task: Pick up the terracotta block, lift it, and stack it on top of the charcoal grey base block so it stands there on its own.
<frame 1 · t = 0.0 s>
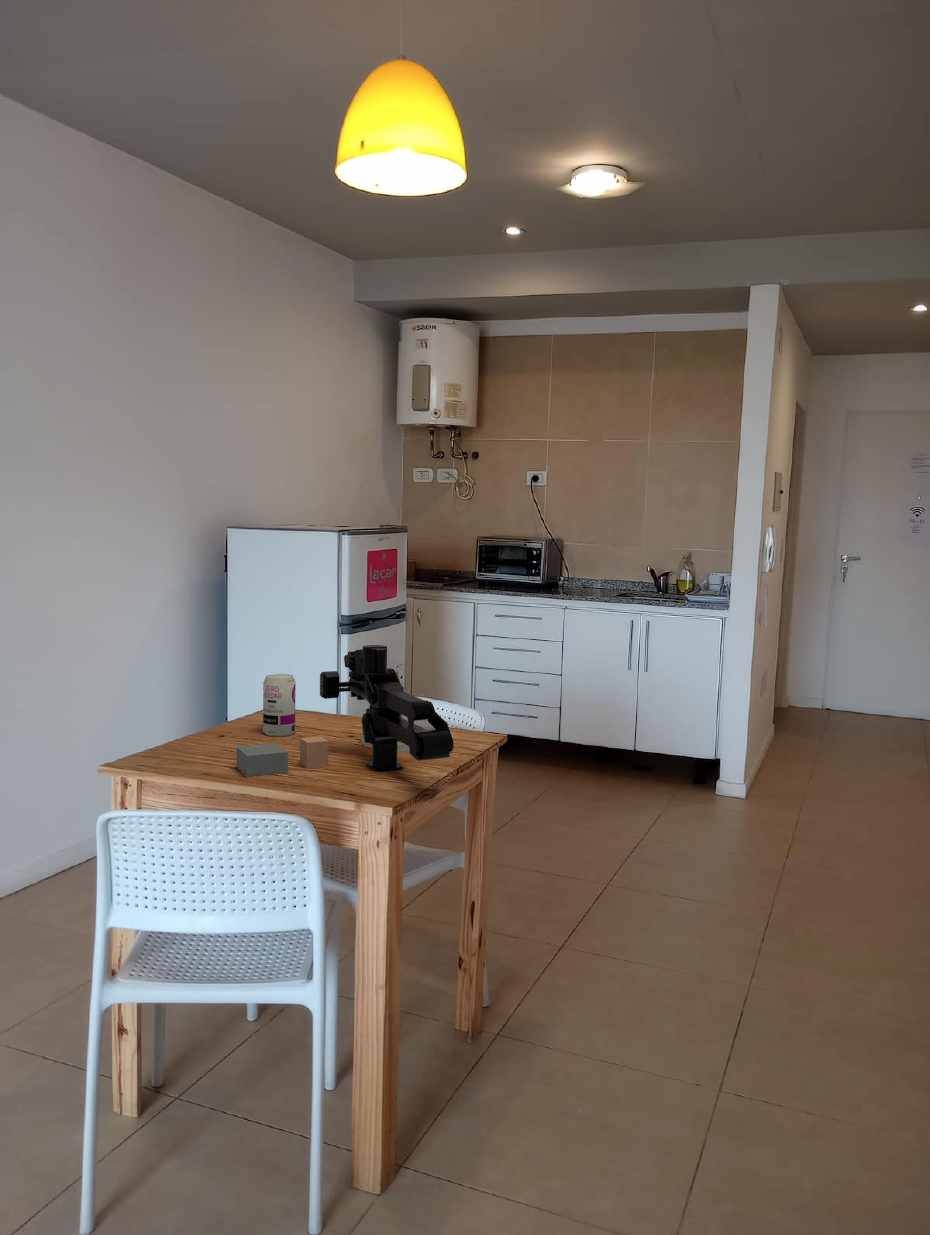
hand: (346, 677, 243), 17 cm above the table, tool horizontal, fingers open, 9 cm apart
terracotta block: (313, 765, 223), on the table
grey base block: (261, 771, 217), on the table
supplement can: (279, 734, 254), on the table
dish: (404, 743, 248), on the table
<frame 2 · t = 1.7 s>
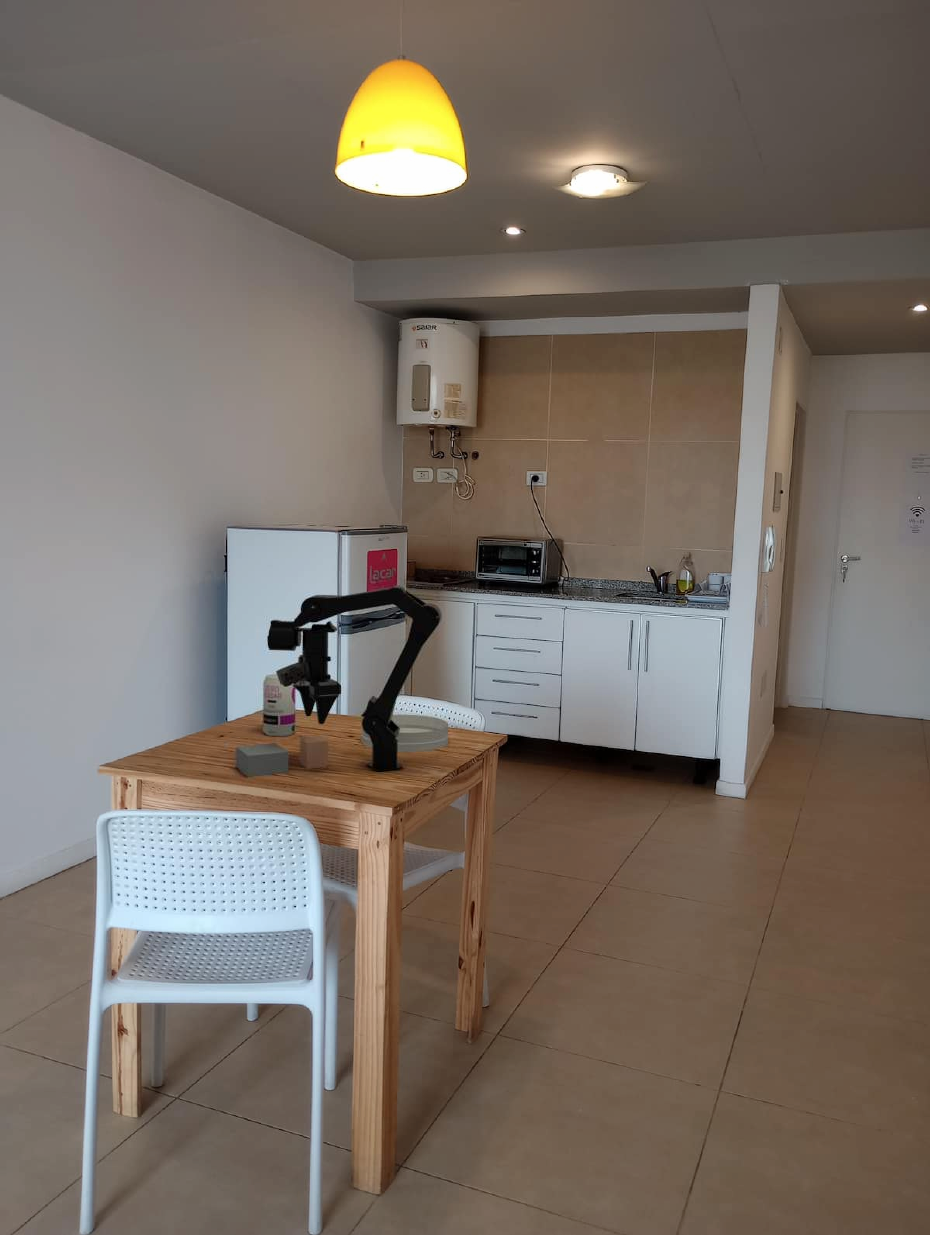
hand: (314, 720, 222), 10 cm above the table, tool pointing down, fingers open, 9 cm apart
nothing on the table moved.
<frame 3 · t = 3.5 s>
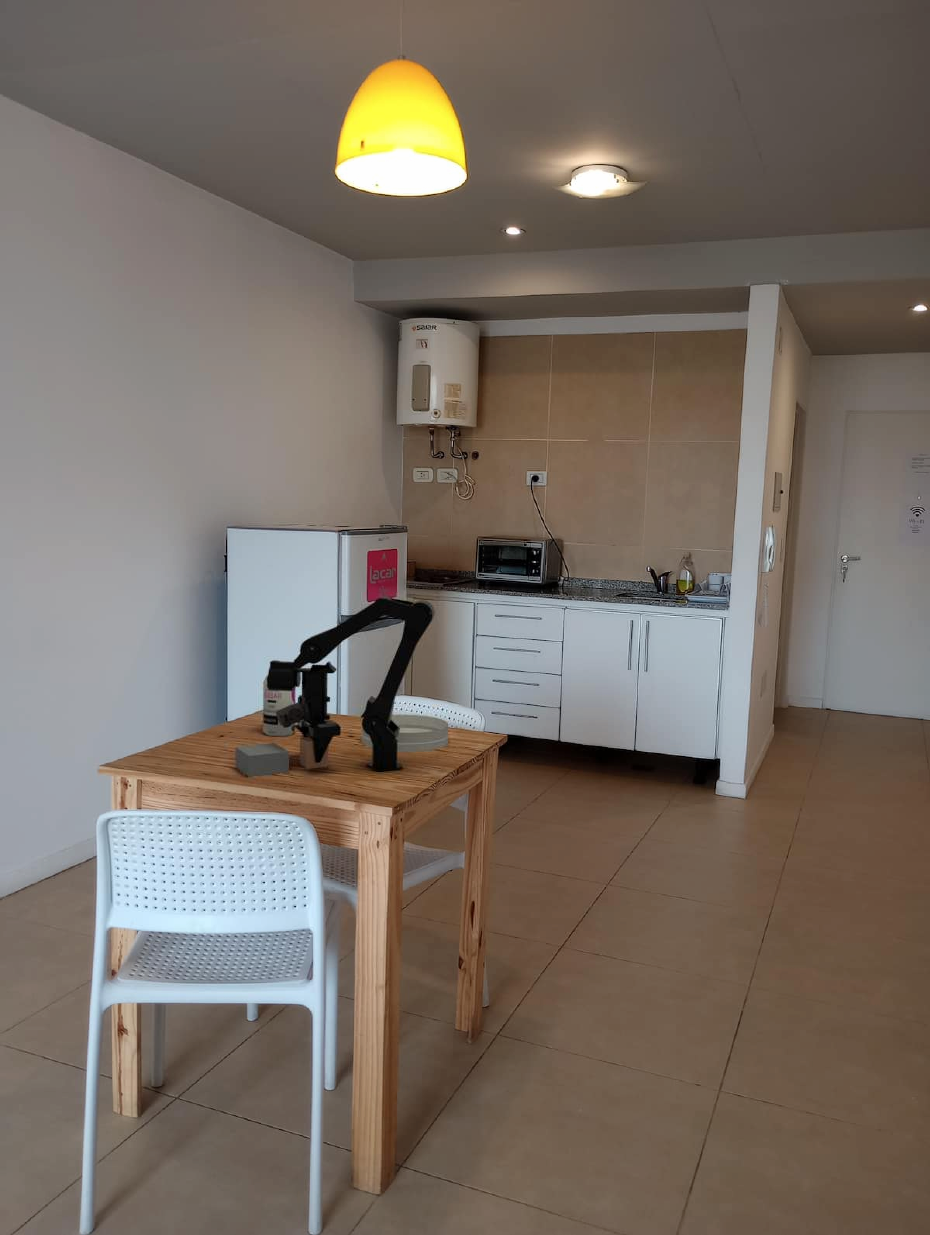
hand: (314, 759, 222), 1 cm above the table, tool pointing down, fingers closed on terracotta block, 5 cm apart
terracotta block: (313, 765, 223), on the table, touching gripper
everything else where it was.
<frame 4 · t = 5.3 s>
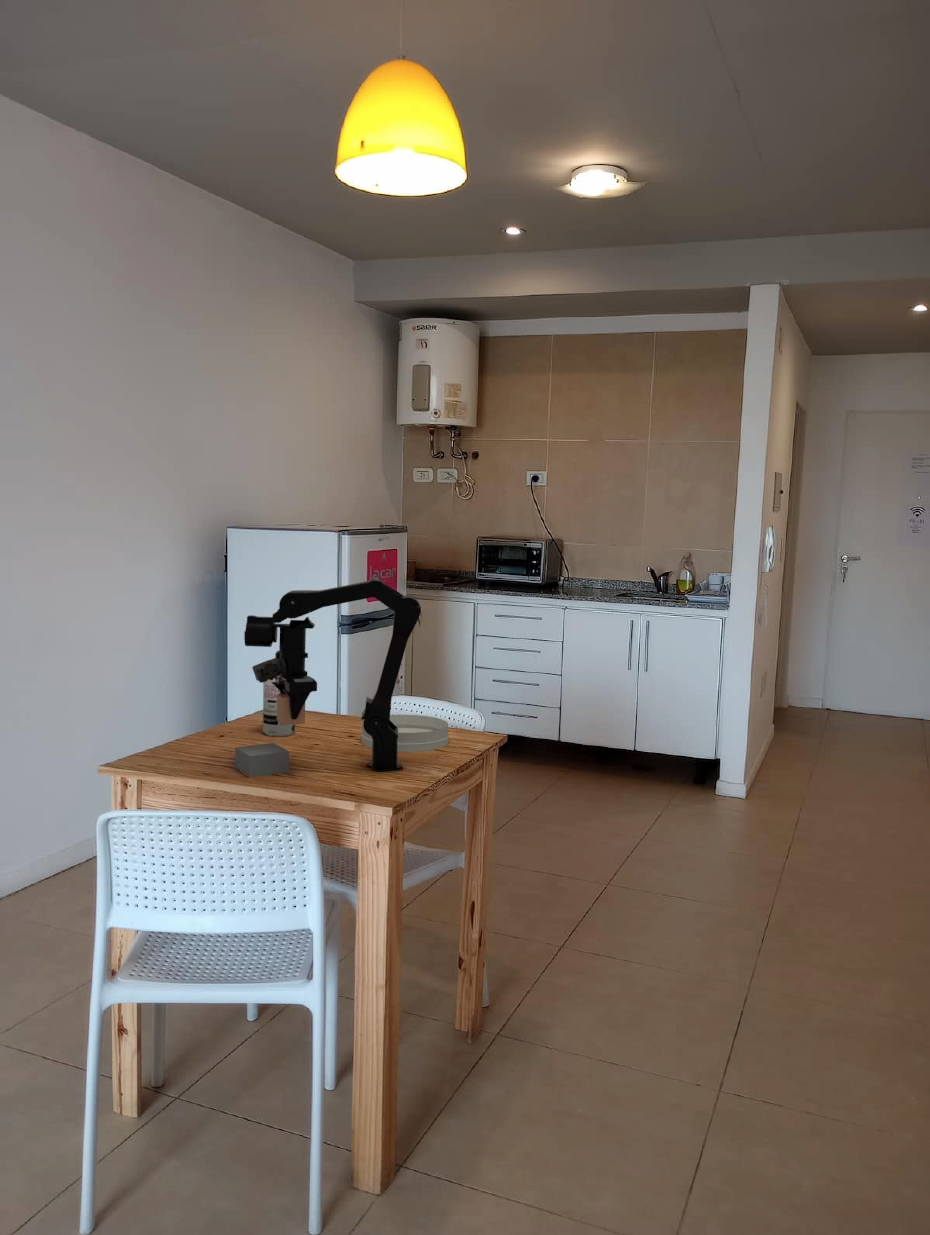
hand: (290, 716, 219), 11 cm above the table, tool pointing down, fingers closed on terracotta block, 5 cm apart
terracotta block: (290, 722, 219), point 10 cm above the table, touching gripper
everything else where it was.
when the fingers open (8 cm above the table, at t = 7.1 s): terracotta block drops 2 cm, point 5 cm above the table.
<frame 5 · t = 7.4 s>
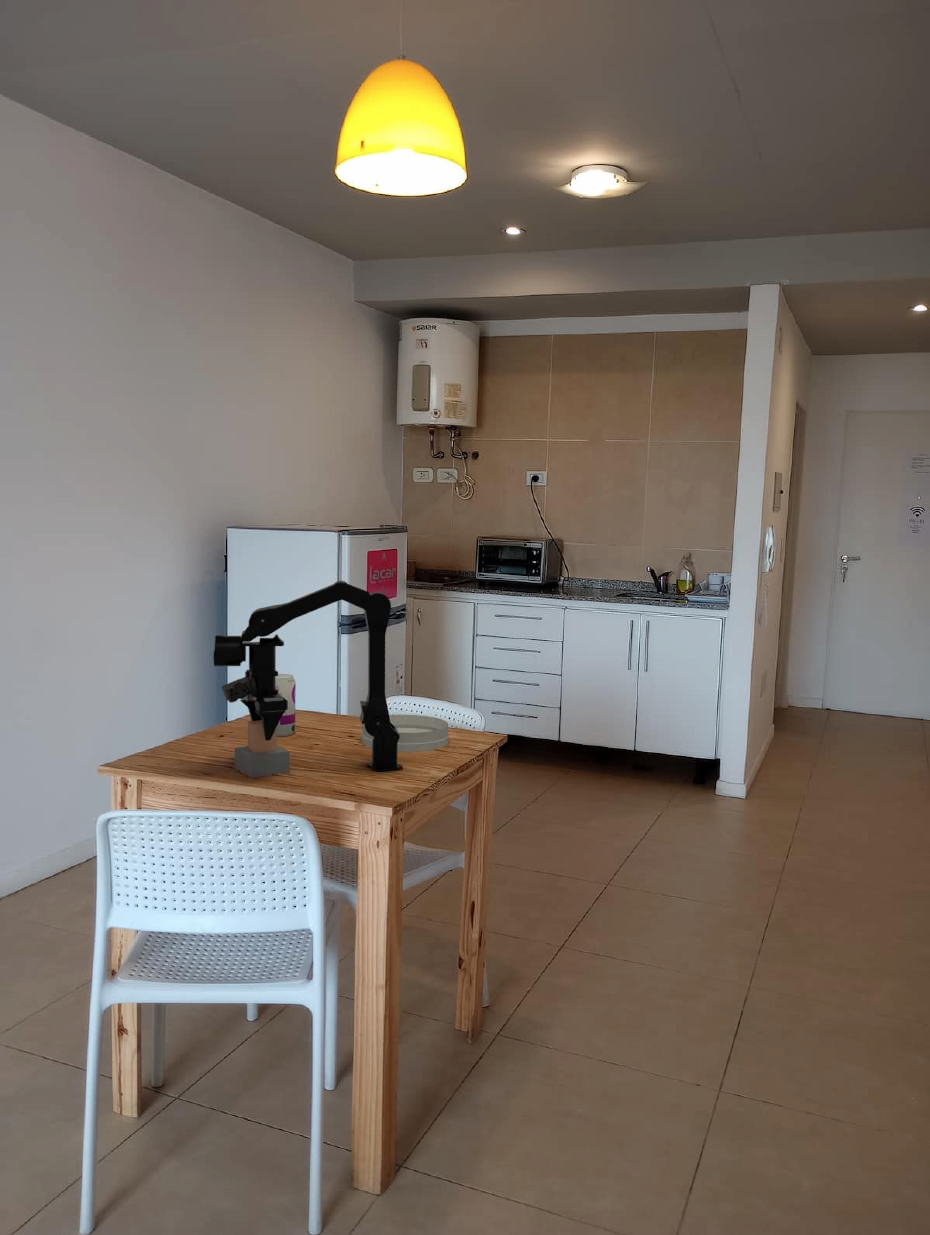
hand: (262, 736, 216), 8 cm above the table, tool pointing down, fingers open, 9 cm apart
terracotta block: (261, 749, 217), point 5 cm above the table
everything else where it was.
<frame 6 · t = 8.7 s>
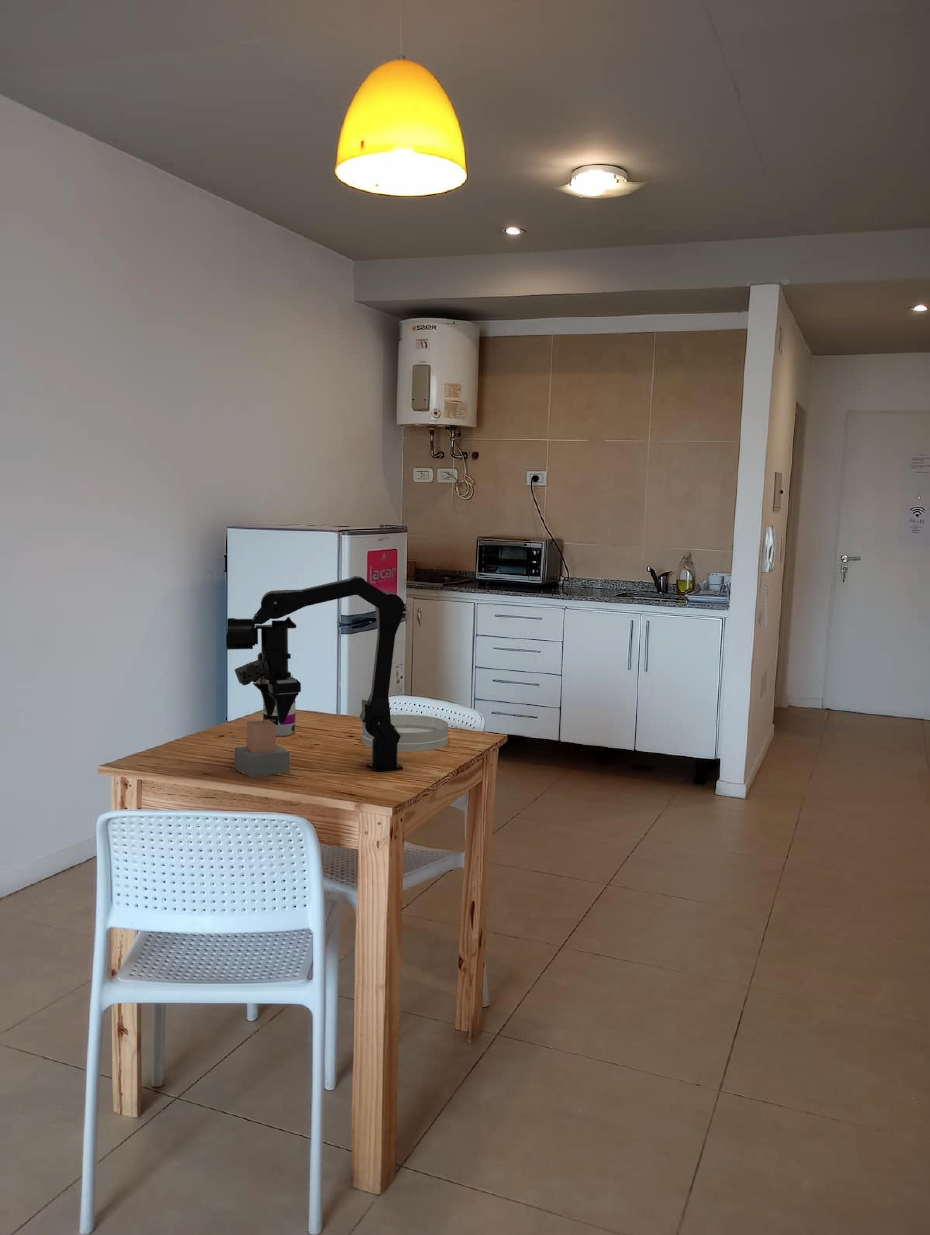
hand: (275, 719, 216), 12 cm above the table, tool pointing down, fingers open, 9 cm apart
terracotta block: (261, 749, 216), point 5 cm above the table, touching grey base block
grey base block: (261, 771, 217), on the table, touching terracotta block
everything else where it was.
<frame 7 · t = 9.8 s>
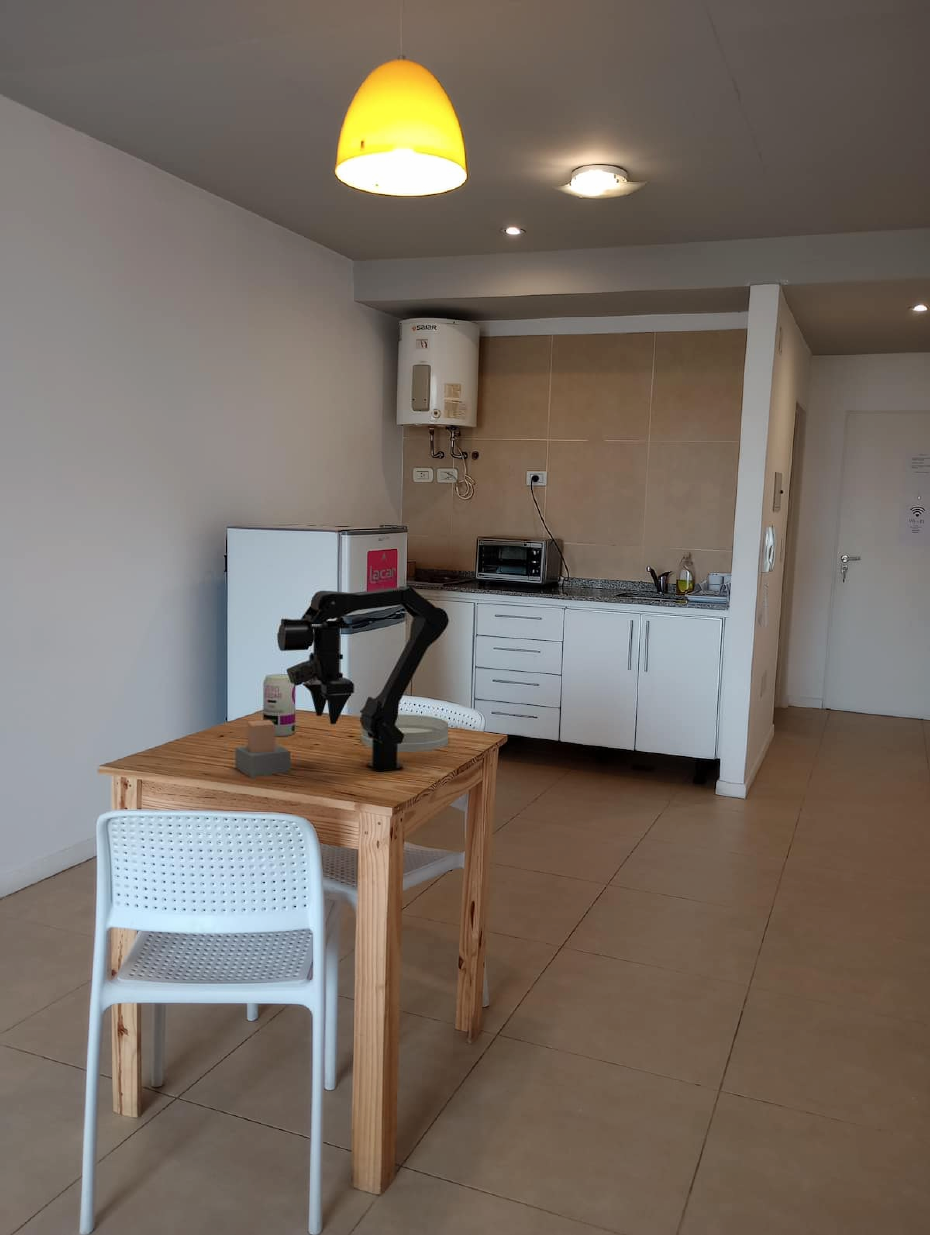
hand: (325, 719, 214), 12 cm above the table, tool pointing down, fingers open, 9 cm apart
terracotta block: (261, 749, 216), point 5 cm above the table
grey base block: (262, 771, 217), on the table
everything else where it was.
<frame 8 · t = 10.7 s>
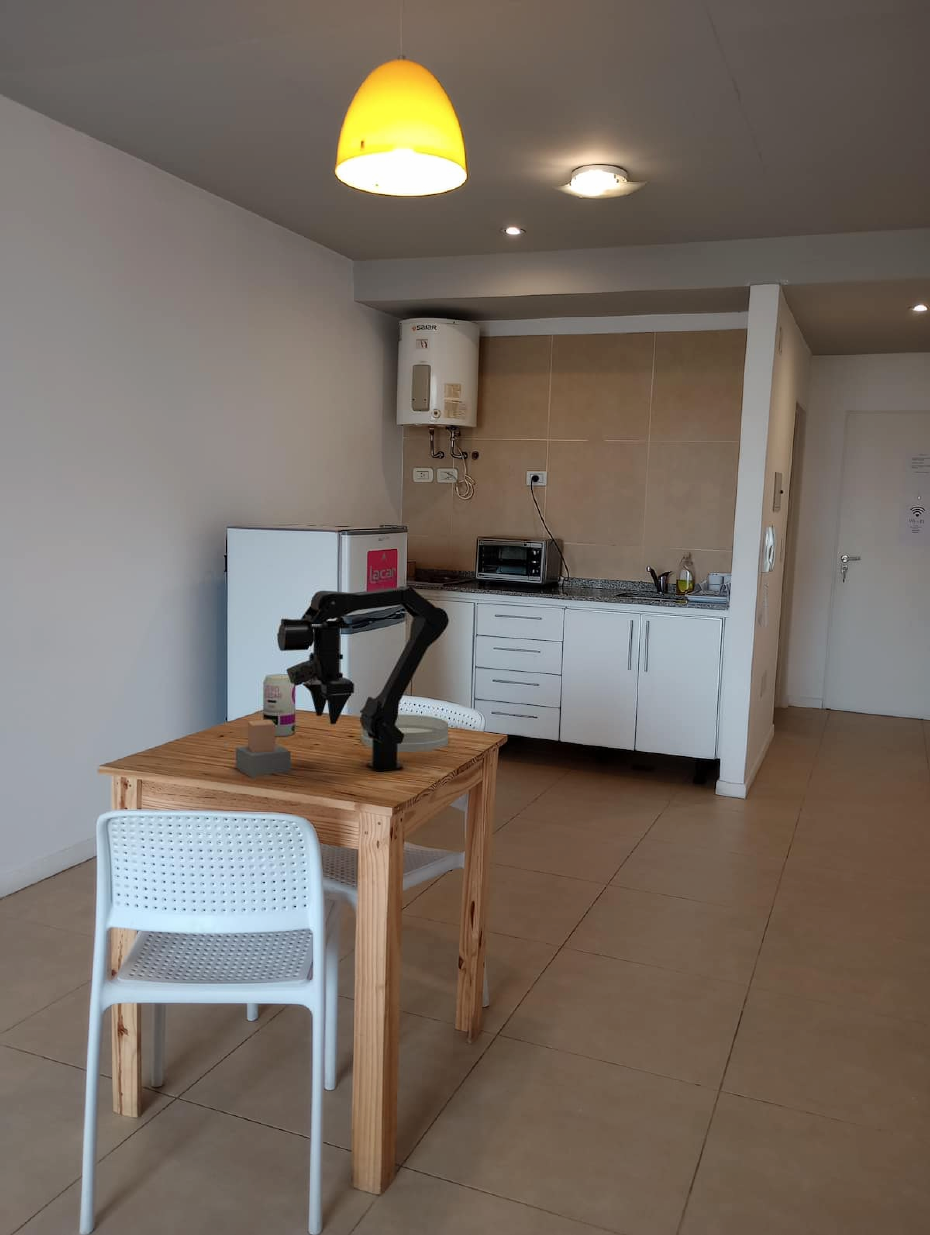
hand: (326, 719, 214), 12 cm above the table, tool pointing down, fingers open, 9 cm apart
nothing on the table moved.
at the end: terracotta block 0.4 cm off-centre on the grey base block, point 5.0 cm above the grey base block's base; terracotta block tilted 0°; the gripper is holding nothing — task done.
